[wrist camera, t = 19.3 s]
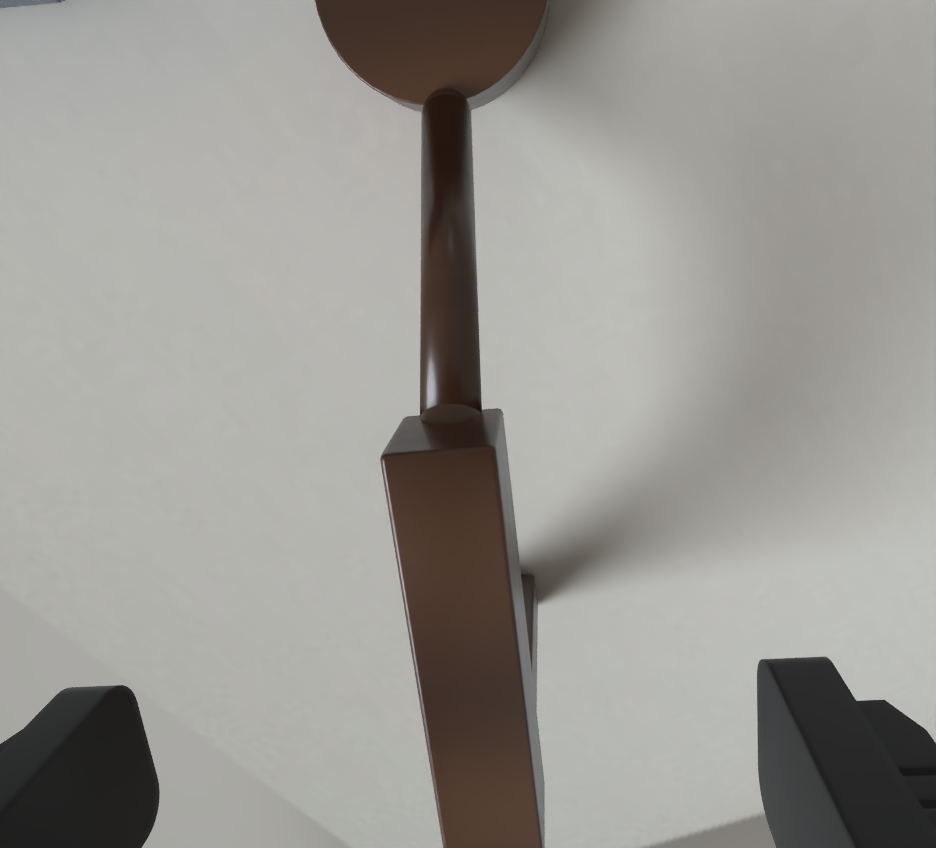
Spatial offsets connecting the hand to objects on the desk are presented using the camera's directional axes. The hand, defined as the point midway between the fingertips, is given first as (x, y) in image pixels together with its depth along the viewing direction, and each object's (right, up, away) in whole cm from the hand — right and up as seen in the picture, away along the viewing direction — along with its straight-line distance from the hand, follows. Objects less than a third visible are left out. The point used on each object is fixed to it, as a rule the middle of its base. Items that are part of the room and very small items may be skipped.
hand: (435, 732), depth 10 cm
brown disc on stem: (+1, +8, +12) cm, 15 cm away
